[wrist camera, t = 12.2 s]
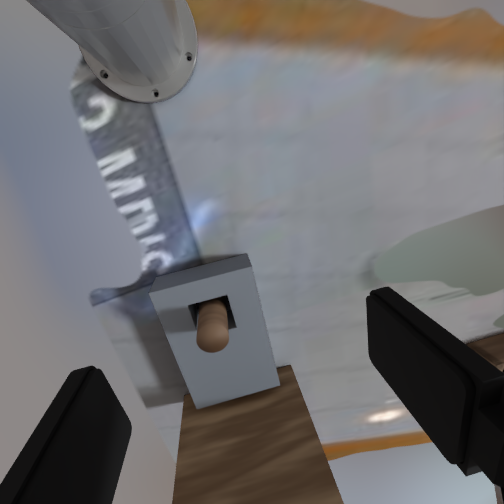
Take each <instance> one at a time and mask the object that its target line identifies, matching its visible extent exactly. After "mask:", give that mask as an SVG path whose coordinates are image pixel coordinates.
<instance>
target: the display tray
mask: <svg viewBox="0 0 504 504" xmlns="http://www.w3.org/2000/svg"><path fill="white" fill-rule="evenodd" d="M467 346H468V347H470V348H471V349H472V350H474V351H475V352H476V353H478V354H479V355H480V356H482V357H483V358H484V359H486V360H487V361H488V362H490V363H491V364H492V365H494V366H495V367H496V368H498V369H499V370H500V371H503V369H504V333H502V334H499V335H495V336H492V337H488V338H485V339H482V340H478V341H475V342H471V343H468V344H467Z"/></svg>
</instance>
